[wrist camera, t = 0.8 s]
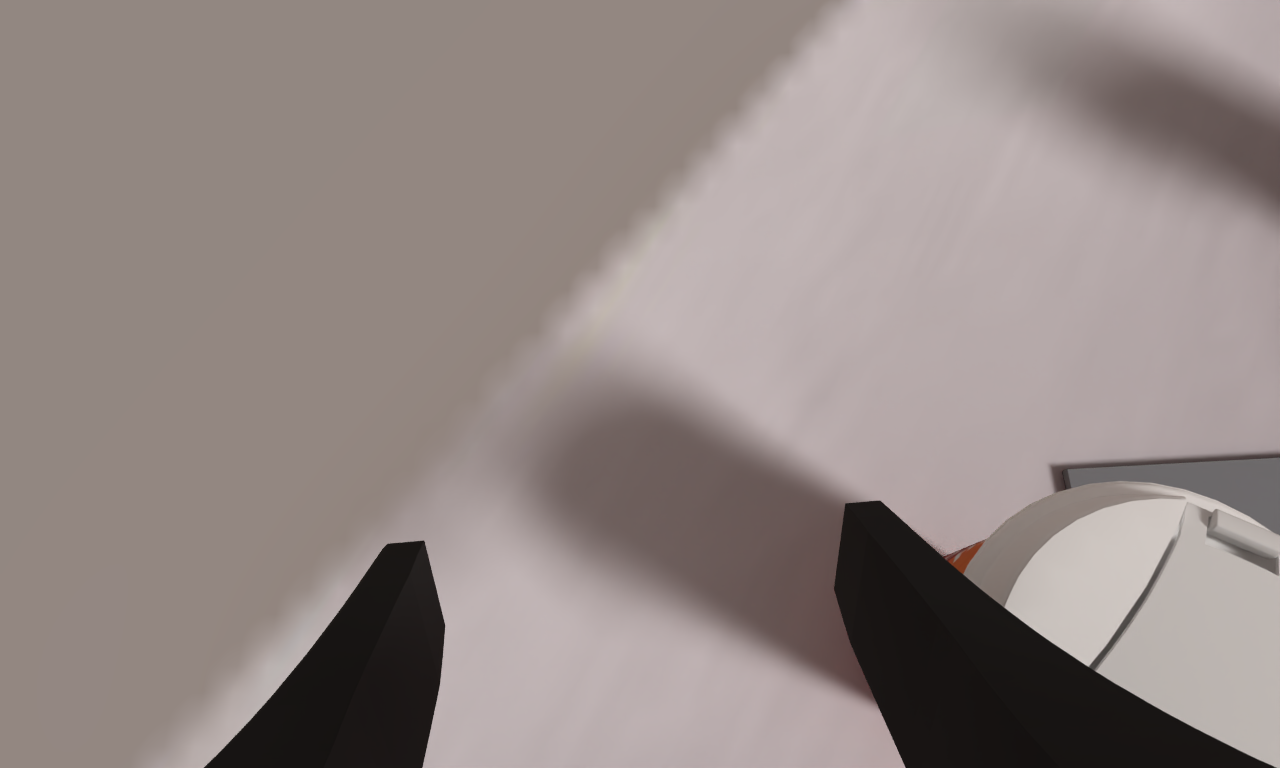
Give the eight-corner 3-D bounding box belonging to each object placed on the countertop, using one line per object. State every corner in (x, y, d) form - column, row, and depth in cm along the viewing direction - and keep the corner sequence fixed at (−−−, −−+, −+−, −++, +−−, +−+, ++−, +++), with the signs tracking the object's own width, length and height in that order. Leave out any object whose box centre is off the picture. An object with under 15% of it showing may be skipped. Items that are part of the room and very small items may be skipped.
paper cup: (884, 500, 28) (1049, 402, 14) (1096, 597, 26) (1503, 590, 13) (799, 703, 26) (894, 810, 13) (1019, 820, 24) (1396, 1084, 11)
